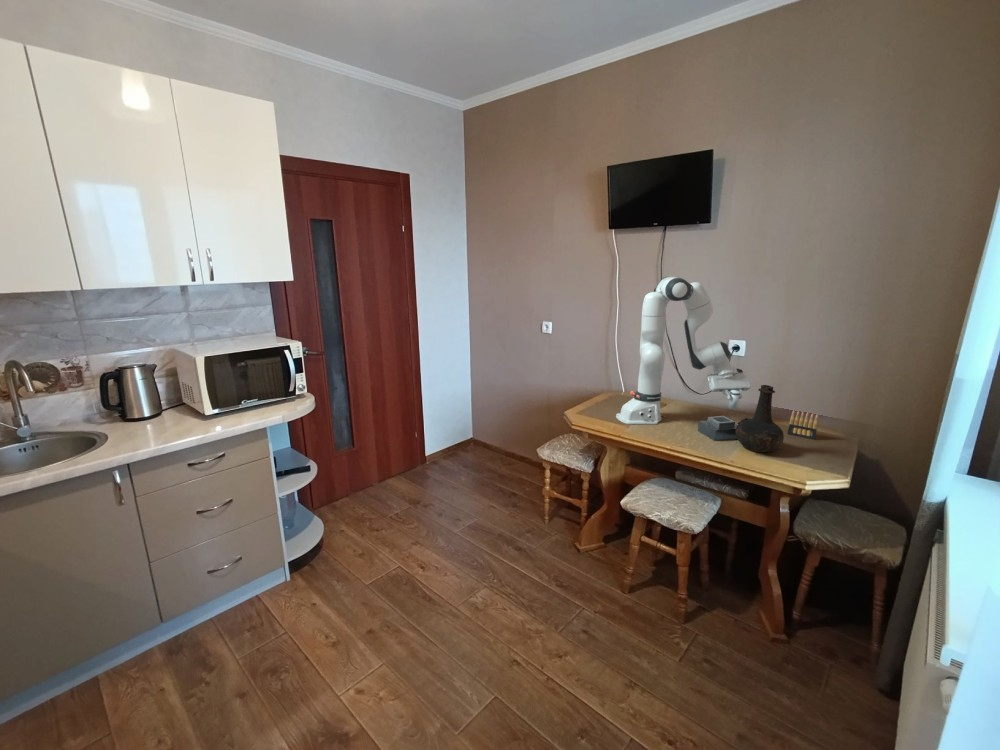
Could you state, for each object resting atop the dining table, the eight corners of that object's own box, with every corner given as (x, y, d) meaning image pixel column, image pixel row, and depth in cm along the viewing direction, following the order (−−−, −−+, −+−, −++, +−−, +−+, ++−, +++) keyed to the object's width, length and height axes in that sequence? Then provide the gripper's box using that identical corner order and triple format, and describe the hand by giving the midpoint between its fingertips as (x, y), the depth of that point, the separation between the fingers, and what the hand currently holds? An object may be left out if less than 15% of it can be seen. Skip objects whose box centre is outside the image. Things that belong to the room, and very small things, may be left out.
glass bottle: (742, 436, 200) (750, 377, 193) (787, 448, 187) (797, 385, 180) (726, 447, 188) (735, 385, 181) (773, 461, 175) (784, 394, 168)
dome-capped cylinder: (731, 410, 210) (734, 392, 207) (726, 407, 214) (728, 389, 211) (739, 409, 210) (742, 391, 208) (733, 406, 214) (736, 389, 212)
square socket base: (714, 440, 195) (716, 425, 193) (697, 430, 207) (699, 416, 205) (742, 438, 198) (744, 422, 196) (724, 428, 209) (726, 414, 207)
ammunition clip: (787, 434, 202) (791, 409, 199) (787, 433, 204) (791, 408, 200) (815, 440, 195) (819, 414, 192) (815, 438, 197) (820, 413, 194)
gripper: (709, 370, 212) (719, 396, 206) (746, 369, 216) (757, 394, 209) (702, 377, 218) (712, 402, 211) (738, 376, 221) (749, 400, 215)
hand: (735, 398), depth 210 cm, fingers closed on dome-capped cylinder, 4 cm apart
